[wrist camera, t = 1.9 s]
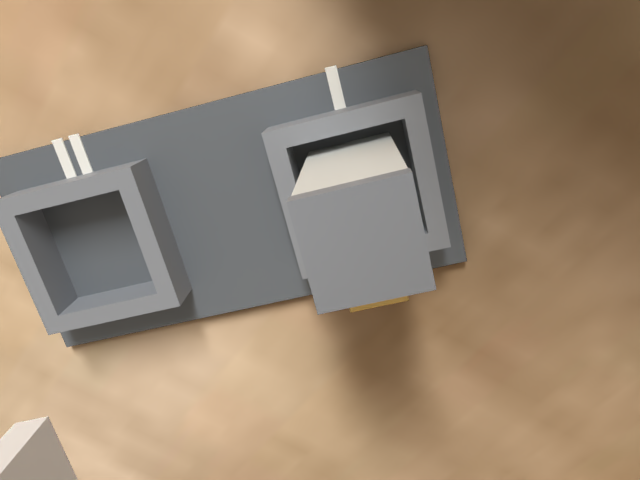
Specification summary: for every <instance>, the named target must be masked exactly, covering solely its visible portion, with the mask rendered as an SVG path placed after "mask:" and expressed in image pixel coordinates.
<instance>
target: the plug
mask: <svg viewBox="0 0 640 480" xmlns="http://www.w3.org/2000/svg"><path fill="white" fill-rule="evenodd" d="M287 206H288V210H289V213H290V217H291V220H292V224H293V227H294V231H295V235H296V238H297V242H298V245H299V249H300V253H301V256H302V260H303V263H304V267H305V270H306V274H307V278H308V281H309V285H310V288H311V292H312V295H313V299H314V303H315V306H316V310H317V313H318V315H319V314H323V313H328V312H333V311H338V310H342V309H347V308H350V312H351V313H352V312H356V311H361V310H366V309H371V308H375V307H380V306H385V305H390V304H395V303H399V302H404V301H409V299H408V296H409V295H414V294H418V293H423V292H428V291H433V290H436V285H435V280H434V275H433V271H432V266H431V261H430V256H429V251H428V246H427V241H426V237H425V232H424V227H423V222H422V217H421V212H420V207H419V202H418V198H417V193H416V188H415V183H414V178H413V173H412V171H411V169H410V168H408V167H407V165H406V163H405V162H404V160H403V158H402V156H401V154H400V152H399V150H398V149H397V147H396V145H395V143H394V141H393V139H392V138H391V136H390V134H389V132H387V133H383V134H379V135H375V136H371V137H367V138H362V139H358V140H354V141H350V142H346V143H342V144H338V145H334V146H330V147H326V148H322V149H318V150H314V151H310V152H309V153H308V155H307V158H306V160H305V163H304V165H303V167H302V170H301V172H300V175H299V177H298V180H297V182H296V185H295V187H294V190H293V192H292V195H291V196H289V197H288V199H287Z"/></svg>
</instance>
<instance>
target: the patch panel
mask: <svg viewBox="0 0 640 480" xmlns="http://www.w3.org/2000/svg"><path fill="white" fill-rule="evenodd" d="M325 71H326V72H323V73H319V74H315V75H311V76H308V77H304V78H300V79H296V80H293V81H289V82H285V83H281V84H277V85H274V86H270V87H266V88H262V89H258V90H255V91H251V92H247V93H243V94H240V95H236V96H232V97H228V98H224V99H221V100H217V101H213V102H209V103H206V104H202V105H198V106H194V107H190V108H187V109H183V110H179V111H175V112H171V113H168V114H164V115H160V116H156V117H153V118H149V119H145V120H141V121H137V122H134V123H130V124H126V125H122V126H118V127H115V128H111V129H107V130H103V131H100V132H96V133H92V134H88V135H84V136H81V137H80V135H79V133H78V134H74V135H70V136H68V137H69V140H65V141H63V138H59V139H55V140H51V141H52V143H53V144H50V145H47V146H43V147H39V148H35V149H31V150H28V151H24V152H20V153H16V154H13V155H9V156H5V157H1V158H0V196H1V198H0V227H1V230H2V232H3V234H4V236H5V239H6V241H7V243H8V245H9V248H10V250H11V252H12V254H13V257H14V259H15V261H16V263H17V266H18V268H19V270H20V272H21V275H22V277H23V279H24V281H25V284H26V286H27V288H28V290H29V292H30V295H31V297H32V299H33V301H34V304H35V306H36V308H37V310H38V313H39V315H40V317H41V319H42V322H43V324H44V326H45V328H46V331H47V333H48V335H51V334H56V333H61V335H62V337H63V340H64V342H65V344H66V346H67V347H70V346H74V345H79V344H84V343H88V342H93V341H98V340H102V339H107V338H112V337H116V336H121V335H126V334H130V333H135V332H140V331H144V330H149V329H154V328H158V327H163V326H168V325H172V324H177V323H181V322H186V321H191V320H195V319H200V318H205V317H209V316H214V315H219V314H223V313H228V312H233V311H237V310H242V309H247V308H251V307H256V306H261V305H265V304H270V303H274V302H279V301H284V300H288V299H293V298H298V297H302V296H307V295H312V292H311V288H310V285H309V281H308V278H307V274H306V270H305V267H304V263H303V260H302V256H301V253H300V249H299V245H298V242H297V238H296V235H295V231H294V227H293V224H292V220H291V217H290V213H289V210H288V206H287V199H288V197H289V196H291V195H292V192H293V190H294V187H295V185H296V182H297V180H298V177H299V175H300V172H301V170H302V167H303V165H304V163H305V160H306V158H307V155H308V153H309V152H310V151H314V150H318V149H322V148H326V147H330V146H334V145H338V144H342V143H346V142H350V141H354V140H358V139H362V138H367V137H371V136H375V135H379V134H383V133H387V132H389V134H390V136H391V138H392V139H393V141H394V143H395V145H396V147H397V149H398V150H399V152H400V154H401V156H402V158H403V160H404V162H405V163H406V165H407V167H408V168H410V169H411V171H412V173H413V178H414V183H415V188H416V193H417V198H418V202H419V207H420V212H421V217H422V222H423V227H424V232H425V237H426V241H427V246H428V251H429V256H430V261H431V266H432V269H433V268H437V267H442V266H447V265H451V264H456V263H461V262H465V261H467V258H466V253H465V248H464V242H463V237H462V231H461V226H460V221H459V215H458V210H457V204H456V199H455V193H454V188H453V183H452V177H451V172H450V166H449V161H448V156H447V150H446V145H445V139H444V134H443V129H442V123H441V118H440V112H439V107H438V101H437V96H436V91H435V85H434V80H433V74H432V69H431V64H430V58H429V53H428V47H427V45H425V46H421V47H417V48H414V49H410V50H406V51H402V52H398V53H395V54H391V55H387V56H383V57H380V58H376V59H372V60H368V61H364V62H361V63H357V64H353V65H349V66H346V67H342V68H338V69H337V67H336V65H334V66H330V67H327V68H325Z"/></svg>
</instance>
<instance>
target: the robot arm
mask: <svg viewBox="0 0 640 480" xmlns="http://www.w3.org/2000/svg"><path fill="white" fill-rule="evenodd" d="M0 480H78V479H77V477H76V475H75V473H74V471H73V468H72V466H71V464H70V462H69V460H68V458H67V456H66V453H65V451H64V449H63V447H62V445H61V443H60V441H59V438H58V436H57V434H56V432H55V430H54V428H53V426H52V423H51V421H50V419H49V417H48V416H47V417H42V418H37V419H32V420H28V421H23V422H18V423H14V425H13V426H12V427H11V428H10V429H9V430H8V431H7V432H6V433H5V434H4V436H3V437H2V438H1V439H0Z"/></svg>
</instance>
